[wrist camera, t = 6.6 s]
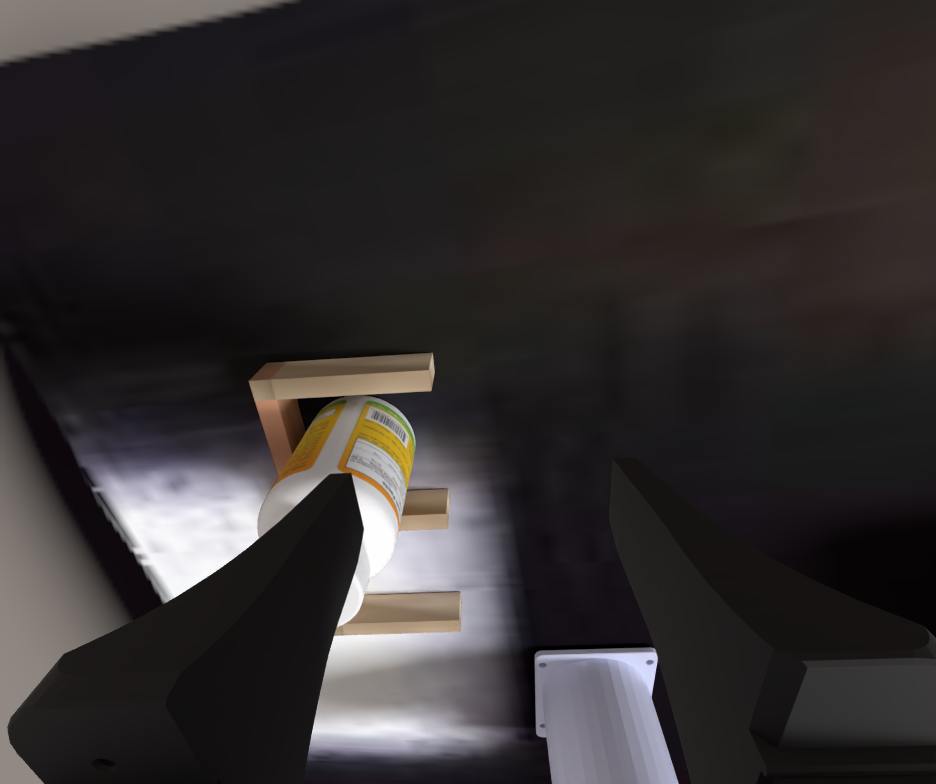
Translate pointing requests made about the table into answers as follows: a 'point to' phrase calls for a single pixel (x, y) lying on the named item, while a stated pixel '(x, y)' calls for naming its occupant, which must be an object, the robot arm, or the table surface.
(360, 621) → the e-shaped wooden frame
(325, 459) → the supplement bottle
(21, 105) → the table surface
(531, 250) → the table surface
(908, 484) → the table surface
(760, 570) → the robot arm
